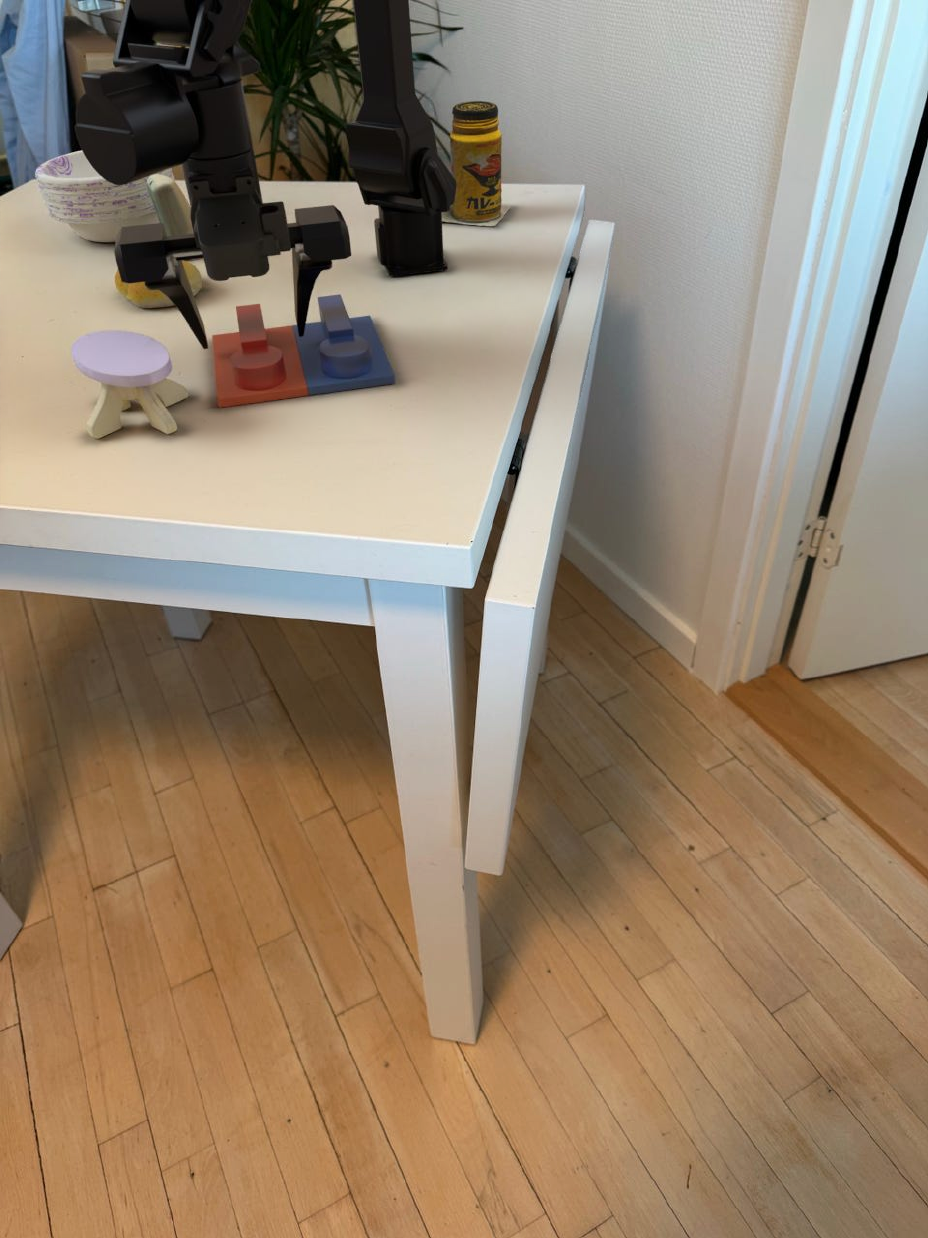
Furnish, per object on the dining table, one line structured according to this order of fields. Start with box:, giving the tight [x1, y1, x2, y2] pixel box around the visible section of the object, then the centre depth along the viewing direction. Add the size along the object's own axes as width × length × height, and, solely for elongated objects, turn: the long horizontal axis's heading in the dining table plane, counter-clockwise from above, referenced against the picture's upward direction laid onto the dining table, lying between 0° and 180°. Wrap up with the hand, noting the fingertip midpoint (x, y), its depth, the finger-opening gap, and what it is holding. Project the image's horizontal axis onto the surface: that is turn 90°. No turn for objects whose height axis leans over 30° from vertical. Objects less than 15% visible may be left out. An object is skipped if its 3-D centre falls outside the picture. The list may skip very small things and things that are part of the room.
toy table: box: [70, 329, 189, 440], centre depth 70 cm, size 10×9×6 cm
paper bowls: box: [34, 150, 176, 243], centre depth 104 cm, size 15×15×8 cm
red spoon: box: [230, 303, 286, 391], centre depth 77 cm, size 12×4×3 cm, turn 14°
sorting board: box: [211, 315, 396, 409], centre depth 78 cm, size 15×13×1 cm
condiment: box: [442, 100, 512, 227], centre depth 104 cm, size 7×8×12 cm
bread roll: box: [114, 260, 203, 309], centre depth 90 cm, size 8×9×4 cm
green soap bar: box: [147, 174, 194, 236], centre depth 98 cm, size 6×5×8 cm
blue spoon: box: [317, 293, 372, 379], centre depth 78 cm, size 12×4×3 cm, turn 14°
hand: (253, 340), depth 78 cm, fingers open, 8 cm apart
